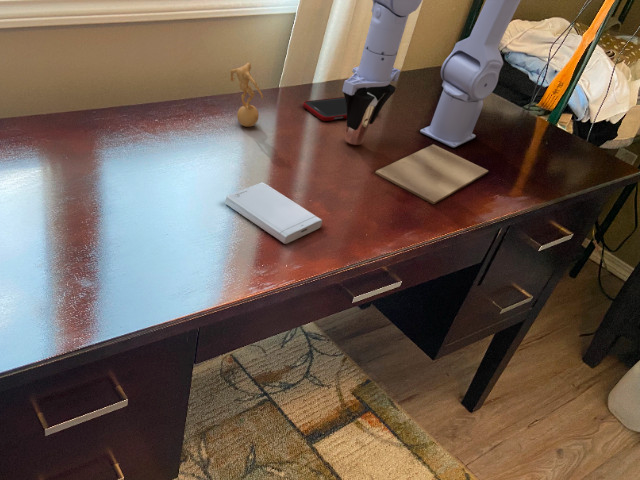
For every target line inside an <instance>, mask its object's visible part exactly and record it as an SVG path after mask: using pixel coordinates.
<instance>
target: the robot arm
mask: <svg viewBox="0 0 640 480" xmlns="http://www.w3.org/2000/svg"><path fill="white" fill-rule="evenodd" d="M422 1H423V0H372V7H371V12H372V13H371V14H372V15H371V19H370V23H369V27H368V31H367V34H366V38H365V42H364V46H363V49H362V52H361V53H362V54H361V56H360V57H361V58H360V61H359V64H358V66H355V67H353V68H352V70H351V71H352V73H353V74H352V75H351V76H350V77H349V78H347V79H345V80H344V81H343V86H342V90H341V91H342V93H343V97H345V100H346V106H347V118H346V127H347V126H348V127H350V128H352V129H354V130H357V129H358V128H359V126H360V124H361V121H362V119H363V116H364V114H365V111H366V109H367V108H368V106H369V105H370V103H371V102H372V101H373V99H374V98H375V97H376V99H377V101H378V100H379V99H380V98H381V97H382V95H383V94H384V93H385V94H384V95H383V97H382V98H381V99H380V100H379V101H378V103H377V105H376V108H375V110H374V112H373V115H372V117H371V120H370V123H369V125H372V124H373V123H374V122H376V121H375V120H376V119H377V117H378V115H379V113H380V112H381V110H382V109H383V107H384V105H385V104H386V103H387V101H388V100H389V98H391V96H393V94H395V92H396V89H397V88H396V86H395V85H392V84H391V83H392V82H397V81H398V80H399V77H400V73H401V70H400V69H398V68H396V67H395V63H396V59H397V56H398V52H399V49H400V45H401V42H402V39H403V35H404V33H405V29H406V25H407V22H408V19H409V16H410V15H411V14H412V13H413V12H416V11H417V10H418V9H419V7H420V5H421V3H422ZM520 3H521V0H485V2H484V5H483V7H482V9H481V10H480V12H479V15H478V17H477V20H476V22H475V24H474V26H473V28H472V30H471V32H470V35H469V36H468V37H467V38H464V39H462V40H460V41H457V42H456V43H455V45H454V46H453V49H452V51H451V53H450V54H449V55H448V56H447V57H446V58H445V60H444V61H443V63H442V65H441V69H440V78H441V80H442V84H441V87H442V88H443V89H442V91H441V95H440V97H439V100H438V102H437V106H436V109H435V111H434V114H433V117H432V120H431V122H430V125H429V126H426V127H424V128H422V129H420V131H419V132H420V133H421V134H423V135H425V136H427V137H429V138H432V139H433V140H435V141H438V142H439V143H442V144H444V145H446V146H448V147H451V148H457V147H459V146H461V145H463V144H465V143H467V142H469V141H472V140H473V139H475V138H476V136H477V135H476V134H474V133H473V132H474V130H475V127H476V124H477V122H478V119H479V117H480V116H481V113H482V110H483V107H484V99H486V98H488V97H489V96H490V95H491V94H492V93H493V92H494V90H495V88H496V87H497V85H498V82H499V76H500V72H501V69H502V67H503V66H504V60H503V57H502V55H501V51H500V49H499V45H500V44H501V42H502V39H503V37H504V35H505V33H506V31H507V30H508V28H509V25H510V23H511V21H512V19H513V17H514V15H515V12H516V11H517V9H518V6H519V5H520ZM367 92H368V93H370V94H372V95H374V96H375V97H374V96H371V95H369V94H367Z"/></svg>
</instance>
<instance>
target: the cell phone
mask: <svg viewBox="0 0 640 480" xmlns="http://www.w3.org/2000/svg"><path fill="white" fill-rule="evenodd" d="M302 107H303V108H304V109H305V110H307V111H308V112H309V113H311V114H312V115H313V116H315V117H317V118H318V119H319V120H321V121H323V122H330V121H334V120H336V121H337V120H343V119H344V120H345V119H347V106H346V100H345V96H340V97H331V98H322V99H314V100H313V99H312V100H305V101H303V105H302Z"/></svg>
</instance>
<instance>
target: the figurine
mask: <svg viewBox="0 0 640 480" xmlns="http://www.w3.org/2000/svg"><path fill="white" fill-rule="evenodd" d="M251 69H252V63H250V62H247V63H245V64H244V65H242V66H240V67H237V68H233V69H230V81H231V83H232V82H235V78H234V74H236V76H237V79H238V81H239V83H238V86H239V88H240V90H241V91H242V92H243V93H242V94H241V96H240V97H241V102H242V106H241V107H239V109H238V110H237V113H236V117H237V121H238V123H239V124H240V125H241V126H243V127H246V128H251V127H253V126H255V125H256V124H257V123H258V121H259V117H260V115H259V111H258V108H256V106H254V105H252V104H251V103H250V102H251V101H252V100H253V98H254V97H255V95H256V94H255V92H254V91H253V89H252V86H251V85H249V82H251V83H252V85H253V86H254V87H255V89H256V91H257V92H258V93H259V95H260V97H261V99H264V95H263V93H262V90H261V89H260V87H259V86H258V84H257V82H256V81H255V79H254V78H253V77H252V75H251V72H250V71H251ZM247 94H248V95H249V96H248V98H247V99H246V101H245V98H246V96H247Z"/></svg>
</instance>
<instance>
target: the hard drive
mask: <svg viewBox="0 0 640 480" xmlns="http://www.w3.org/2000/svg"><path fill="white" fill-rule="evenodd" d="M224 201H225V202H224V203H225V205H227V206H228V207H229V208H231V209H233V210H234V211H236V212H237V213H238V214H239V215H241V216H242V217H244V218H246V219H247V220H248V221H250V222H252V223H253V224H254V225H256V226H258V227H259V228H261V229H262V230H263V231H265V232H267V233H268V234H270V235H271V236H272V237H274V238H276V239H277V240H278V241H279V242H281V243H283V244H285V245H287V244H289V243H291V242H293V241H296V240H298V239H299V238H302V237H303V236H305V235H308V234H311V233H312V232H315V231H316V230H319V229H320V228H321V227H322V226H323V225H322V224H323V219H322V218H320V217H318V216H317V215H315V214H313V213H312V212H311V211H309V210H307V209H306V208H304V207H303V206H302V205H299V204H298V203H297V202H295V201H293V200H292V199H290V198H288V197H286V195H284V194H282V193H281V192H280V191H278V190H276V189H274V188H273V187H271V186H270V185H268V184H267V183H265V182H263V181H262V182H259V183H257V184H254V185H251V186H248V187H246V188H243V189H240V190H238V191H236V192H233V193H230V194H228V195H227V196H226V197H225V200H224Z"/></svg>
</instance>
